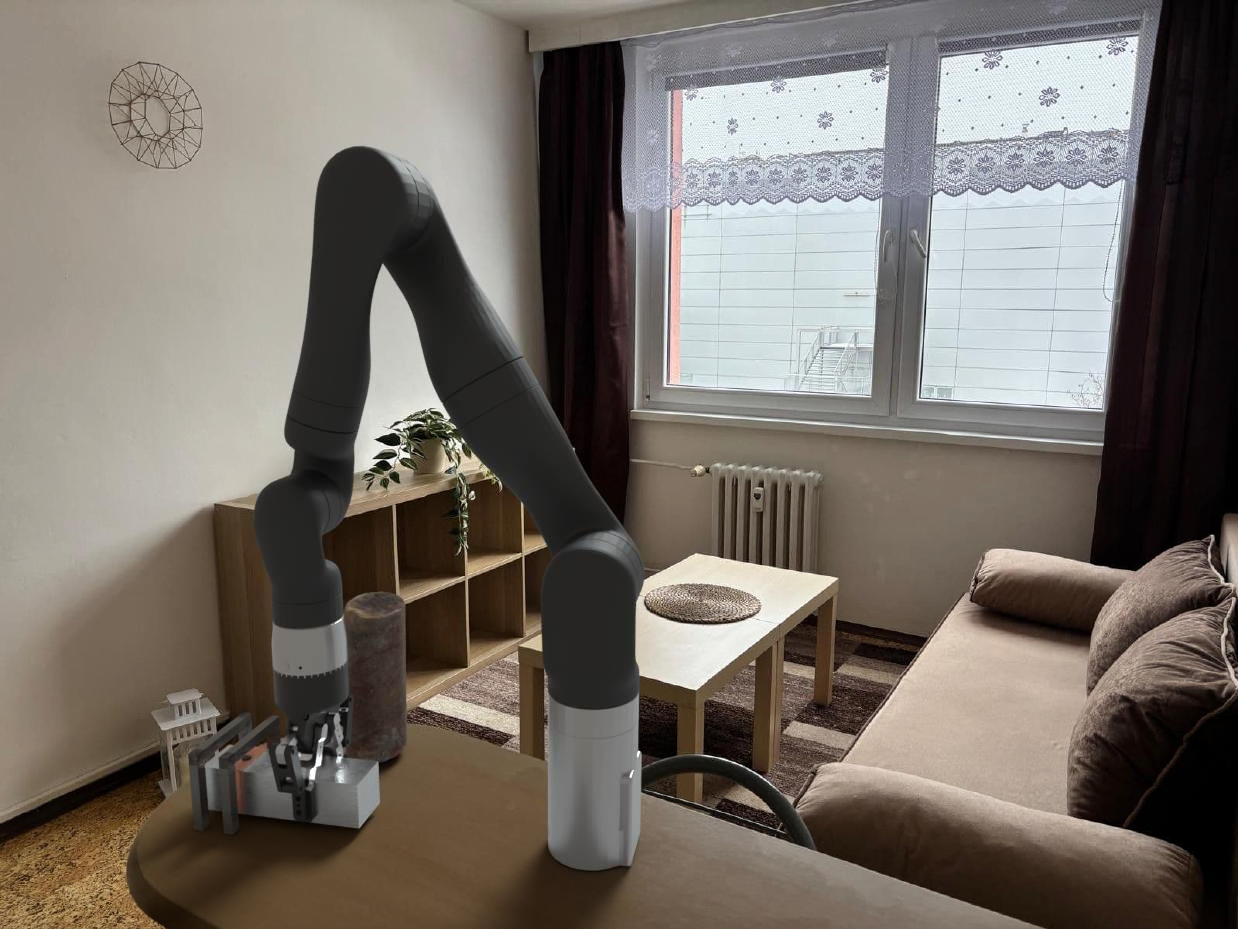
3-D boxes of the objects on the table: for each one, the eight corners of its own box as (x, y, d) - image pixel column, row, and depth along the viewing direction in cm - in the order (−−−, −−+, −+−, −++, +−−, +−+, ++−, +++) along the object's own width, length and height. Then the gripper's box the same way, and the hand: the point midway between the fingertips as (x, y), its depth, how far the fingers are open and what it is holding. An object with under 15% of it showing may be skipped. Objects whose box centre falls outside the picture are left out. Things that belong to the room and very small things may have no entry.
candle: (417, 742, 116) (412, 592, 113) (398, 772, 109) (392, 612, 105) (359, 739, 117) (353, 589, 113) (336, 768, 110) (328, 609, 106)
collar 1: (255, 782, 106) (251, 713, 105) (202, 831, 97) (196, 755, 95) (247, 782, 106) (243, 712, 105) (194, 830, 97) (188, 754, 95)
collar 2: (283, 786, 106) (279, 716, 104) (232, 835, 96) (227, 758, 94) (275, 785, 106) (271, 715, 104) (224, 833, 96) (218, 757, 95)
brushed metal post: (380, 802, 101) (378, 759, 100) (358, 829, 96) (356, 783, 95) (232, 784, 104) (229, 742, 103) (204, 809, 99) (200, 765, 98)
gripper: (308, 690, 89) (316, 848, 92) (373, 636, 102) (379, 776, 106) (238, 683, 90) (248, 839, 93) (312, 631, 104) (319, 769, 107)
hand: (318, 805), depth 99 cm, fingers closed on brushed metal post, 5 cm apart
